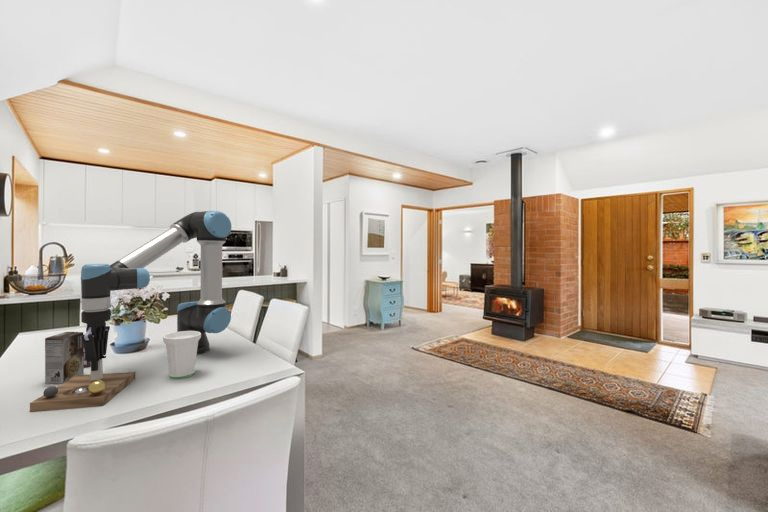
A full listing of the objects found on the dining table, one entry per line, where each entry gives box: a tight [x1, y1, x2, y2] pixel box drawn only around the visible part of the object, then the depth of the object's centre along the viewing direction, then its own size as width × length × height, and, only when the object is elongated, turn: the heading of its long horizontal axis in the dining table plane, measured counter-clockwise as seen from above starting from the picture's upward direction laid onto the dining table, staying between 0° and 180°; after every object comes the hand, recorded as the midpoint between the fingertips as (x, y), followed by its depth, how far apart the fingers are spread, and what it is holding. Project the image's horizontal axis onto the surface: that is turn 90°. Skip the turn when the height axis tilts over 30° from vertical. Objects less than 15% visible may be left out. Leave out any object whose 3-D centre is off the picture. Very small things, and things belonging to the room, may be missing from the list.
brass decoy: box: [88, 380, 106, 395], centre depth 105 cm, size 4×4×4 cm
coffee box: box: [44, 331, 85, 385], centre depth 123 cm, size 9×6×16 cm
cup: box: [162, 331, 201, 380], centre depth 129 cm, size 12×12×15 cm
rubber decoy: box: [43, 385, 58, 397], centre depth 103 cm, size 3×3×3 cm
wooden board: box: [29, 371, 136, 412], centre depth 111 cm, size 22×18×2 cm
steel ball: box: [74, 388, 88, 394], centre depth 107 cm, size 3×3×3 cm
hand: (96, 379), depth 115 cm, fingers closed
